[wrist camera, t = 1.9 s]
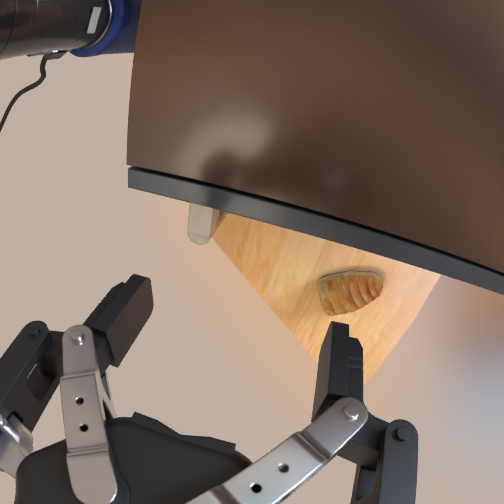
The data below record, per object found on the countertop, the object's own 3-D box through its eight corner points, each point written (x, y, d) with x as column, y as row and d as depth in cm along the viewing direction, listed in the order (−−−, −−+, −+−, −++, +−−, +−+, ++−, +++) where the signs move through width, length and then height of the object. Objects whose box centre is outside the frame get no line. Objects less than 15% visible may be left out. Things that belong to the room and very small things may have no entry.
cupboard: (446, 168, 34) (544, 289, 14) (241, 106, 36) (126, 165, 16) (483, 39, 24) (624, 40, 4) (268, -29, 26) (177, -129, 6)
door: (426, 218, 38) (486, 364, 18) (231, 162, 40) (130, 269, 21) (446, 170, 34) (541, 291, 14) (240, 108, 36) (127, 168, 17)
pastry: (375, 258, 43) (377, 274, 40) (386, 294, 46) (389, 311, 42) (313, 276, 47) (311, 293, 44) (329, 309, 49) (328, 326, 46)
